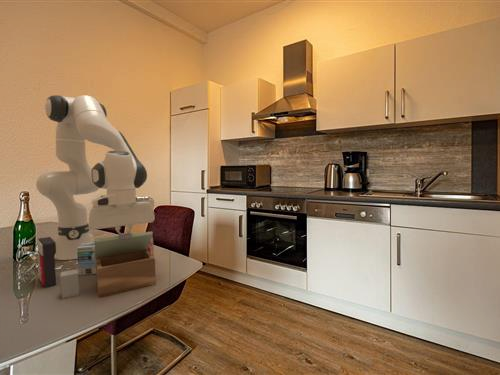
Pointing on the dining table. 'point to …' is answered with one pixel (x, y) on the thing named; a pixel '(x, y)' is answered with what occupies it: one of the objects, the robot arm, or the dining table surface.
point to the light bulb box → (86, 259)
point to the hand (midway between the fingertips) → (124, 238)
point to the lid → (122, 244)
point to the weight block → (69, 283)
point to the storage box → (125, 272)
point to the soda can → (151, 247)
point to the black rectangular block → (46, 261)
